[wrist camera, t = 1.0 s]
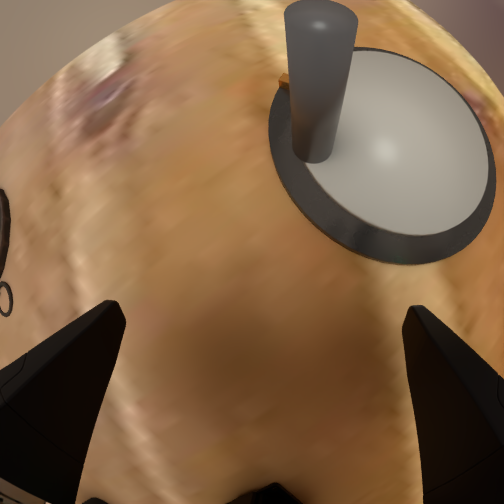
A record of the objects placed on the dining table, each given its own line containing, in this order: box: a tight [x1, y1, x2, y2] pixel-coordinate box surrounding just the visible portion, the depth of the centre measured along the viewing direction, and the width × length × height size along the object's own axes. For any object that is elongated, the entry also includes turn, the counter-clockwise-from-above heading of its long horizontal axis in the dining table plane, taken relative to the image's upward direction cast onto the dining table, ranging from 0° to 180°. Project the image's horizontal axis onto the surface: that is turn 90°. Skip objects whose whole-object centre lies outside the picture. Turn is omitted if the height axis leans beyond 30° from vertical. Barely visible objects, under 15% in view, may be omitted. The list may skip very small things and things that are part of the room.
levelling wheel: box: [284, 0, 488, 237], centre depth 14 cm, size 18×18×13 cm
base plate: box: [268, 47, 496, 265], centre depth 21 cm, size 22×22×2 cm
